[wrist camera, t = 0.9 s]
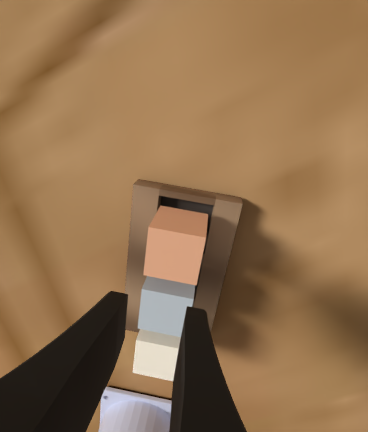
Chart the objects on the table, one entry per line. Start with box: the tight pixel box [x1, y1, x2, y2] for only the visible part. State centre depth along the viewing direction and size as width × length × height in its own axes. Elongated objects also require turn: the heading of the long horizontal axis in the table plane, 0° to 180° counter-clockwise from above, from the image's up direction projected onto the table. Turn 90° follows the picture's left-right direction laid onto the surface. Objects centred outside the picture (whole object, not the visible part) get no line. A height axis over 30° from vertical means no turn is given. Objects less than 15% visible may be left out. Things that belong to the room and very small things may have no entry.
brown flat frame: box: [125, 179, 243, 333], centre depth 19 cm, size 12×7×1 cm, turn 172°
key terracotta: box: [143, 205, 208, 285], centre depth 15 cm, size 3×3×3 cm
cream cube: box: [133, 329, 181, 381], centre depth 18 cm, size 3×3×3 cm
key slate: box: [138, 276, 195, 337], centre depth 17 cm, size 3×3×3 cm
